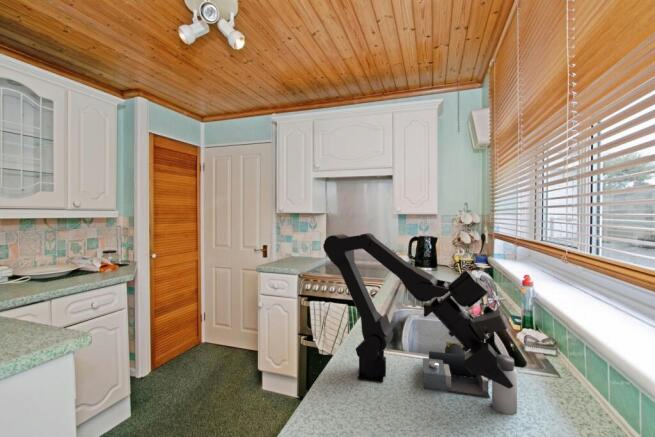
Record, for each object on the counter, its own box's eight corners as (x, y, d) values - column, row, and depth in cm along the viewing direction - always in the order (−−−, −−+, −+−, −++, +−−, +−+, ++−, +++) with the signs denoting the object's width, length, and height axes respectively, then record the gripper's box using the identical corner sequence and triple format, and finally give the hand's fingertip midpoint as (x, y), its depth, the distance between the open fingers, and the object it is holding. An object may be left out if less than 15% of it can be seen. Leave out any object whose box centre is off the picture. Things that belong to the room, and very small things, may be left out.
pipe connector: (427, 338, 94) (481, 343, 90) (427, 355, 94) (480, 360, 90) (430, 355, 83) (492, 362, 79) (430, 375, 83) (491, 382, 79)
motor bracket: (424, 388, 76) (424, 369, 76) (422, 372, 83) (422, 354, 83) (489, 398, 72) (490, 377, 72) (482, 380, 80) (482, 361, 79)
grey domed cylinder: (494, 412, 67) (495, 361, 66) (489, 399, 71) (489, 352, 71) (520, 416, 65) (520, 364, 65) (512, 402, 70) (513, 354, 70)
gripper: (483, 309, 62) (550, 377, 57) (482, 288, 78) (533, 339, 74) (441, 341, 65) (500, 407, 60) (448, 315, 82) (496, 365, 77)
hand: (509, 376), depth 68 cm, fingers open, 9 cm apart
